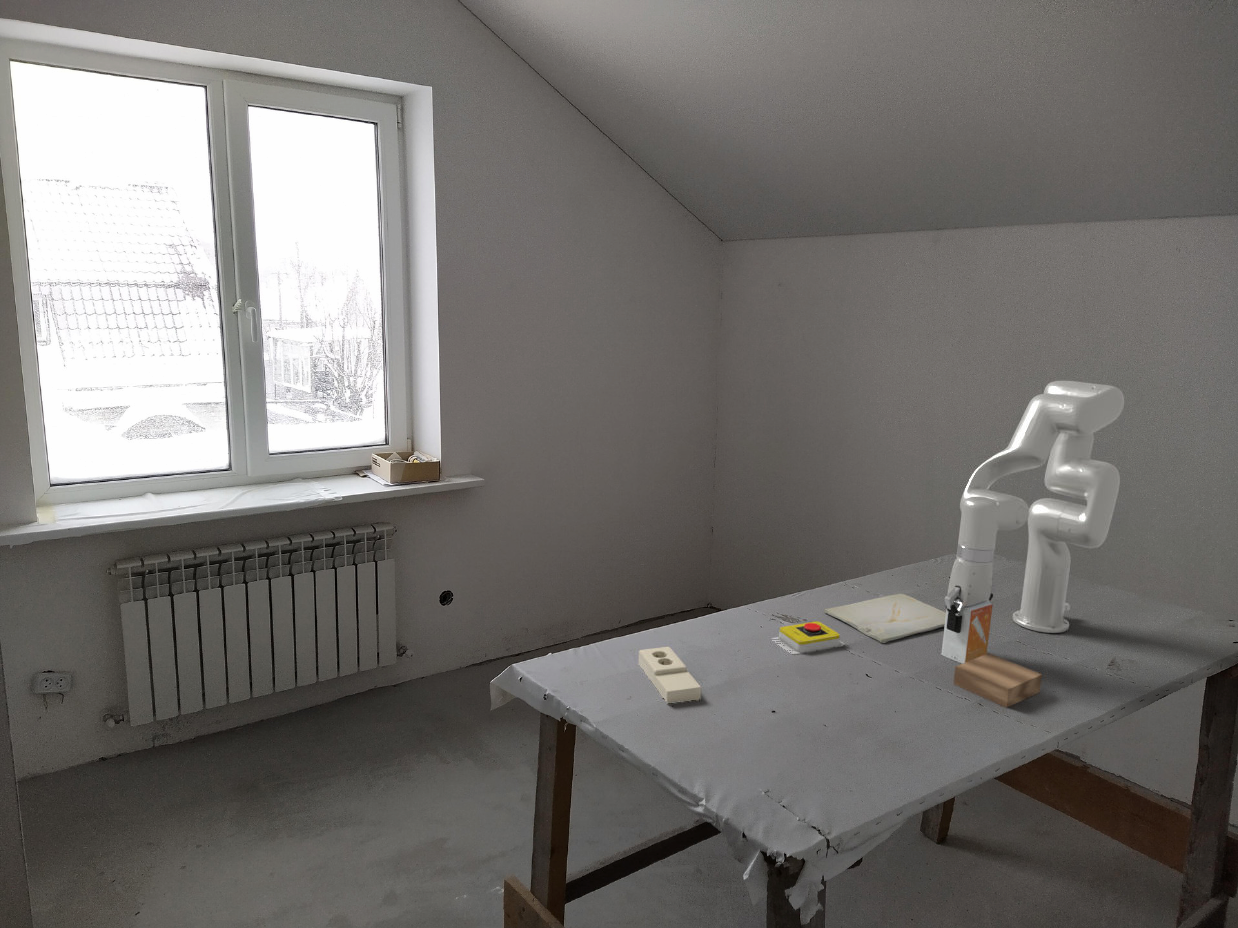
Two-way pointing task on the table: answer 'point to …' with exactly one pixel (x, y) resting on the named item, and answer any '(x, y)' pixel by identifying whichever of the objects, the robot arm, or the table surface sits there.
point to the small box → (968, 633)
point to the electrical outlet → (669, 675)
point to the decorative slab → (890, 617)
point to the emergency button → (808, 637)
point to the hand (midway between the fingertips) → (966, 626)
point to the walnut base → (997, 679)
